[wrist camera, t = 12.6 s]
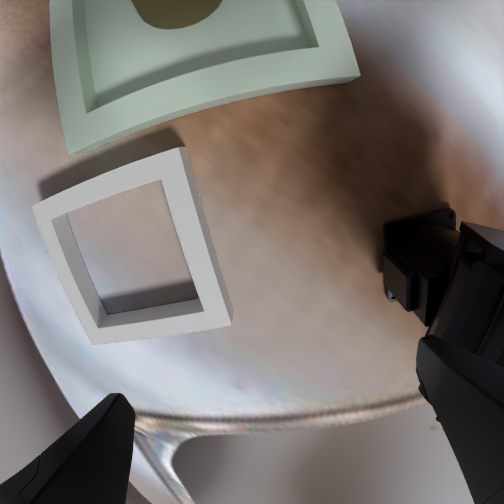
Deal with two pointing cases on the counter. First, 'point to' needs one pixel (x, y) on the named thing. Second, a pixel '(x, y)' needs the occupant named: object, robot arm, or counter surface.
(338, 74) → the tray
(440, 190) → the counter surface
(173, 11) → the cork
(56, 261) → the collar block
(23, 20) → the counter surface
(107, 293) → the counter surface
